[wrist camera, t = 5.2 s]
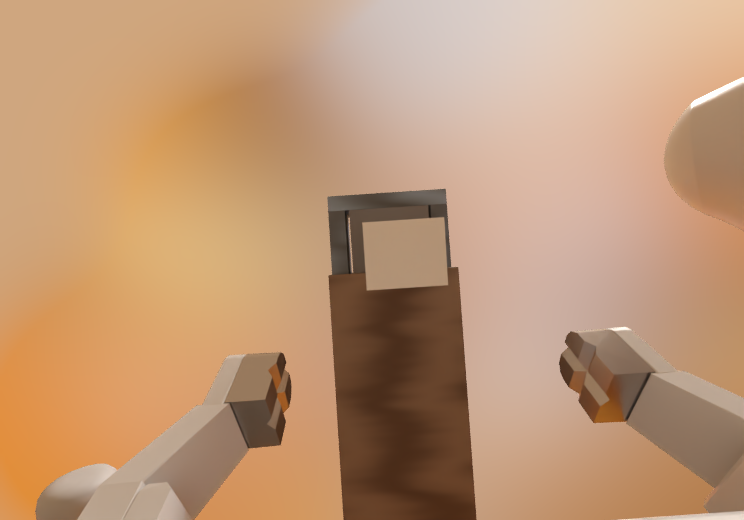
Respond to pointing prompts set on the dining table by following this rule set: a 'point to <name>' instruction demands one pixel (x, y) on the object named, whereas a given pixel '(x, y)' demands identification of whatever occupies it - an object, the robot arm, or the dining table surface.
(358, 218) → the cream bar
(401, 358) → the post
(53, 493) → the salt shaker
